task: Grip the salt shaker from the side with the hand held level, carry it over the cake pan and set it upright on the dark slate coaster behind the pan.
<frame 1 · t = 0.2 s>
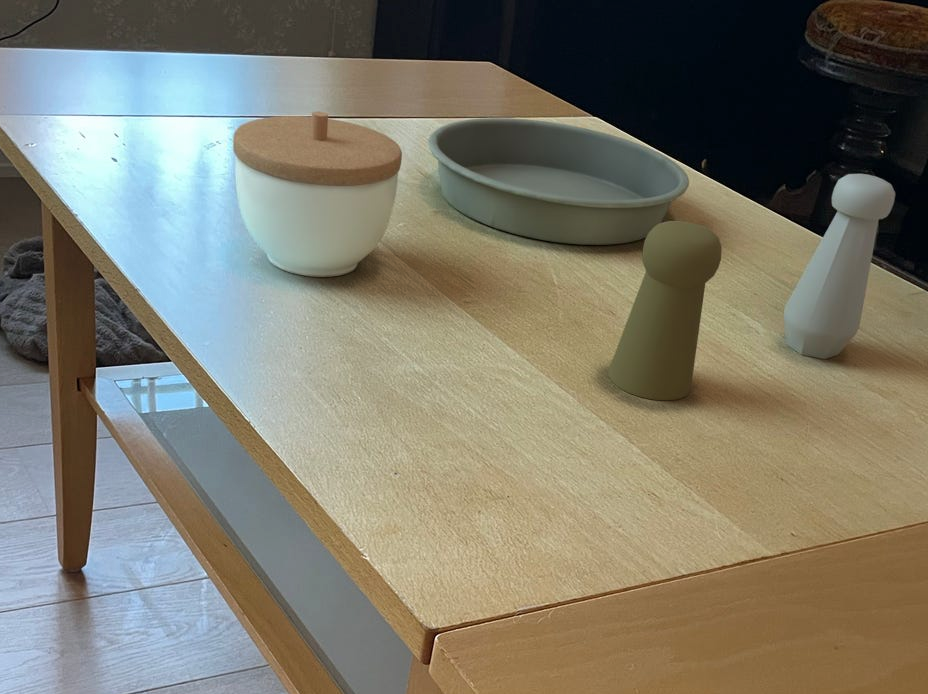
olive pawn figure: (648, 382, 83), on the table
lidded bowl: (312, 261, 93), on the table
salt shaker: (810, 349, 91), on the table
slate coaster: (581, 152, 126), on the table
cake pan: (550, 206, 111), on the table
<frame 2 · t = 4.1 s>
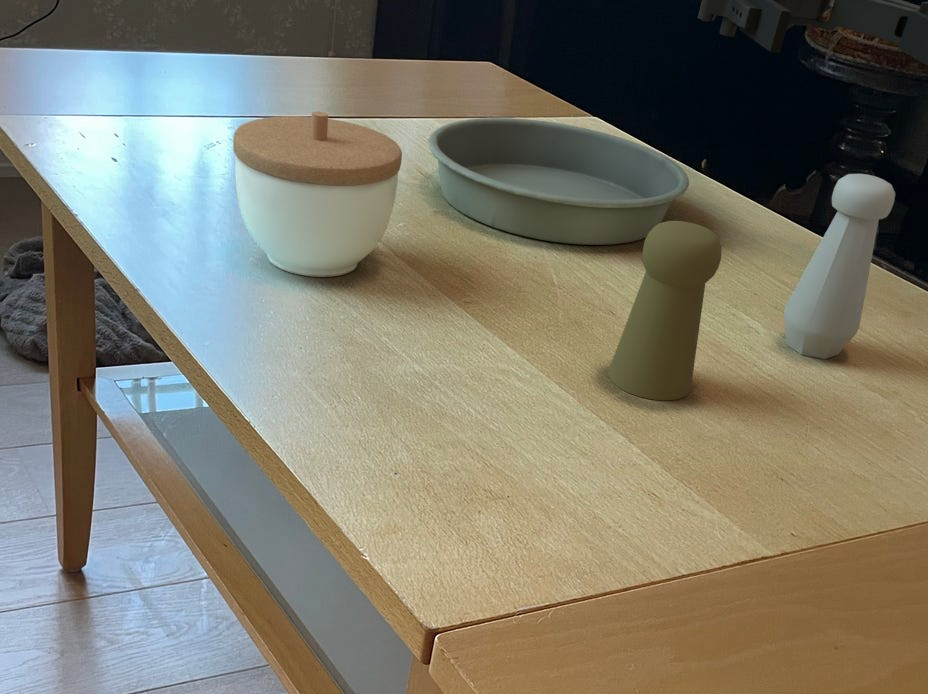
hand: (866, 42, 85), 20 cm above the table, tool horizontal, fingers open, 13 cm apart
nothing on the table moved.
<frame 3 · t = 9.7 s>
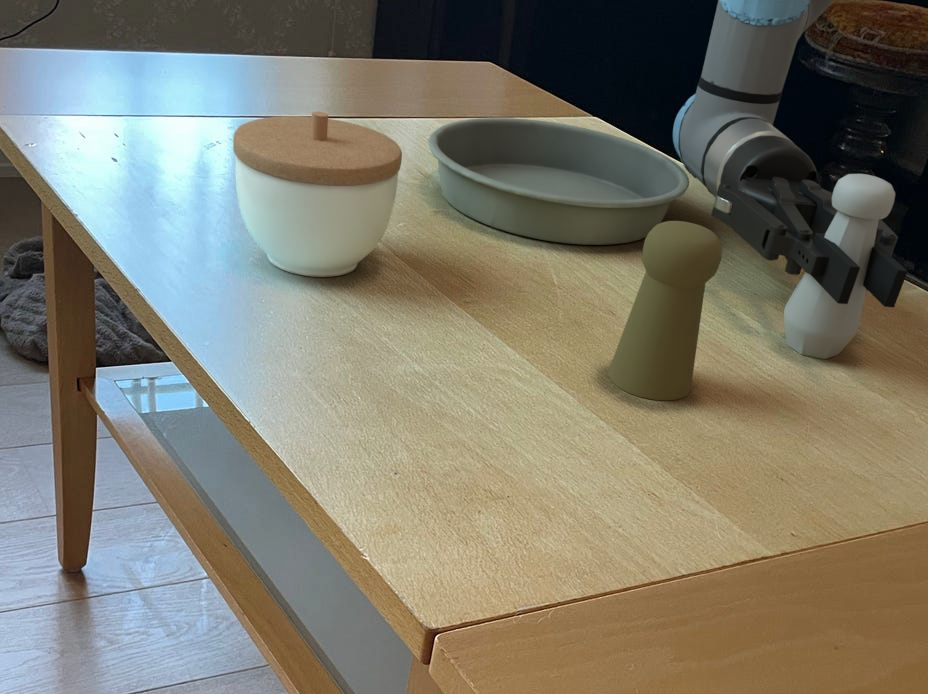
hand: (872, 287, 83), 7 cm above the table, tool horizontal, fingers closed on salt shaker, 3 cm apart
salt shaker: (810, 349, 91), on the table, touching gripper
everything else where it was.
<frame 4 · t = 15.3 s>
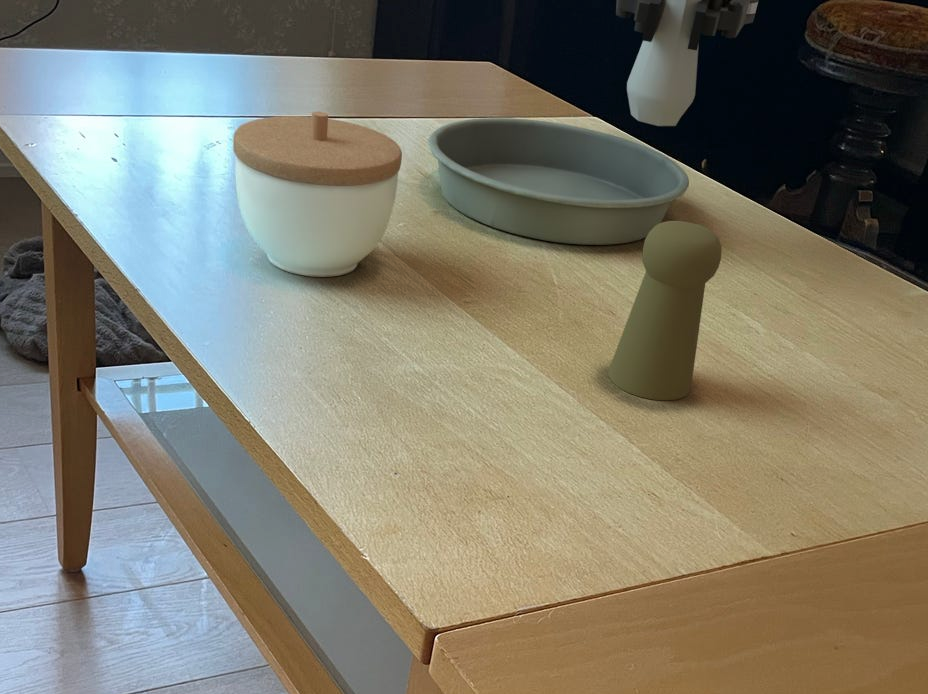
hand: (673, 26, 91), 18 cm above the table, tool horizontal, fingers closed on salt shaker, 3 cm apart
salt shaker: (653, 121, 101), point 10 cm above the table, touching gripper
everything else where it was.
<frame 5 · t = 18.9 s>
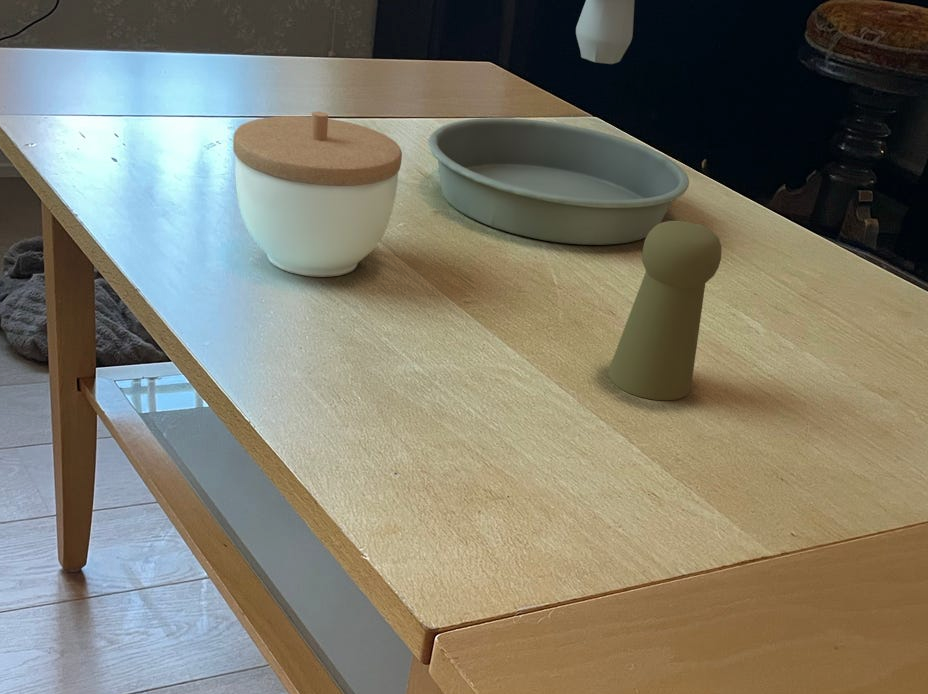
salt shaker: (598, 60, 120), point 9 cm above the table, touching gripper
everything else where it was.
when the fingers open (9 cm above the table, at t = 21.3 s): salt shaker stays where it is, resting on slate coaster.
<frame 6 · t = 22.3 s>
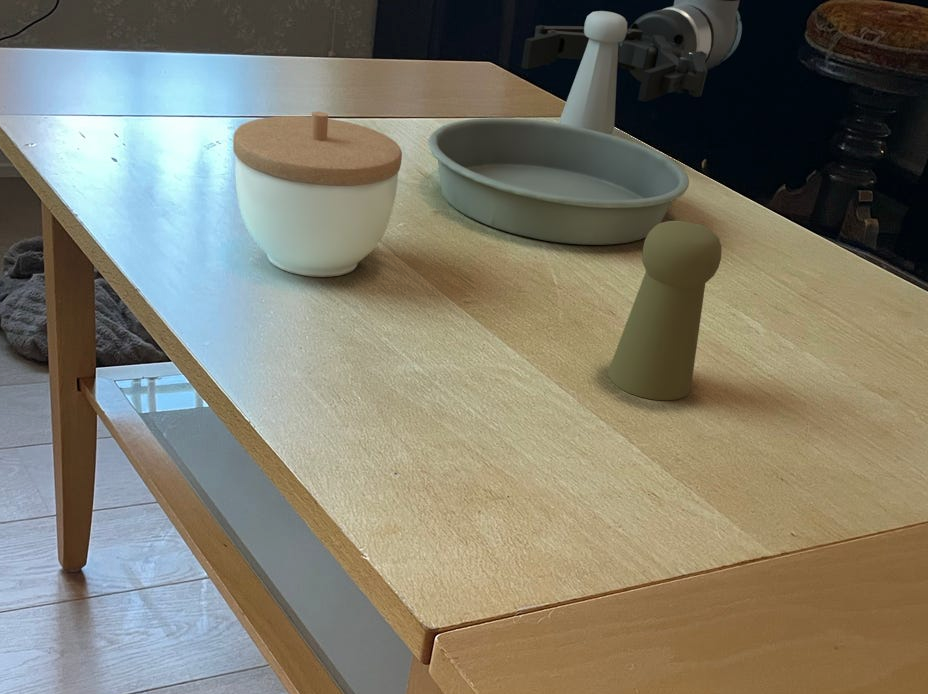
hand: (583, 70, 118), 9 cm above the table, tool horizontal, fingers open, 13 cm apart
salt shaker: (582, 148, 126), resting on slate coaster
everything else where it was.
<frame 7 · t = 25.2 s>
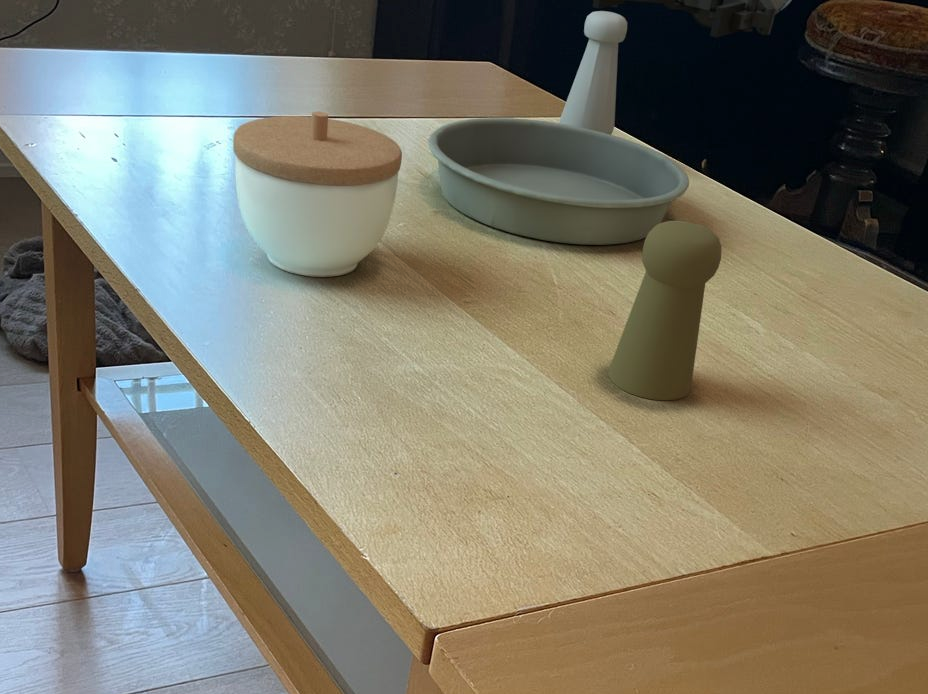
hand: (655, 7, 120), 14 cm above the table, tool horizontal, fingers open, 13 cm apart
nothing on the table moved.
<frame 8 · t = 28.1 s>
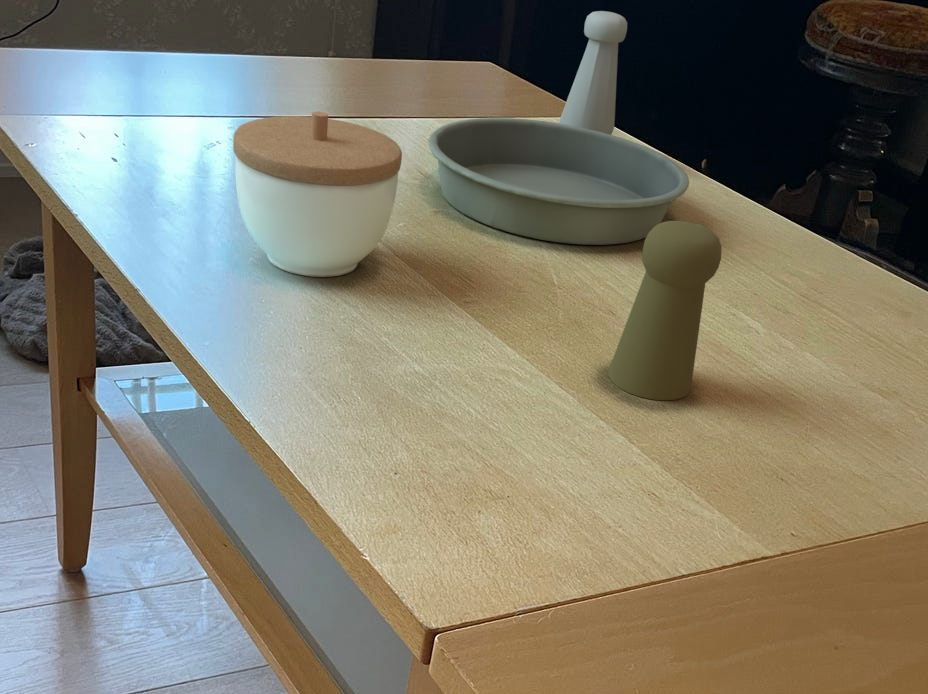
nothing on the table moved.
at the end: salt shaker inside the target area on the table beside the cake pan (4.5 cm from its centre), point 0.6 cm above the table; salt shaker tilted 0°; the gripper is holding nothing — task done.
